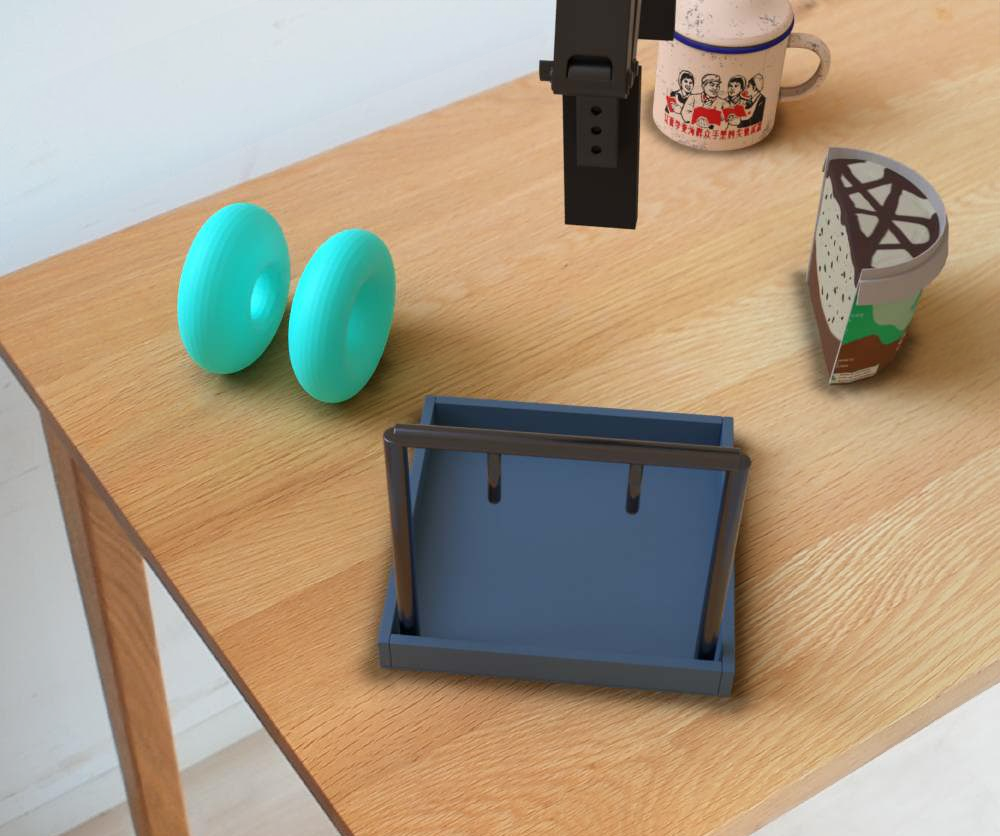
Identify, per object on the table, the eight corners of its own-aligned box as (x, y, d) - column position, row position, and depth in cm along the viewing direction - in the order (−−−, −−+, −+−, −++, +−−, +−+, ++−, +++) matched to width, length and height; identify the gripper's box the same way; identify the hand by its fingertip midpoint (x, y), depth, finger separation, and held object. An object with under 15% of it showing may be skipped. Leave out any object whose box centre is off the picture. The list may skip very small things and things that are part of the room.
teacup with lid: (645, 156, 101) (659, 2, 92) (651, 83, 107) (665, -67, 98) (819, 168, 100) (849, 14, 91) (815, 94, 106) (844, -57, 97)
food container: (936, 409, 84) (979, 275, 77) (831, 410, 84) (864, 276, 77) (896, 273, 92) (932, 140, 85) (800, 273, 92) (827, 140, 85)
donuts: (260, 296, 91) (238, 163, 83) (407, 333, 89) (398, 199, 81) (184, 401, 85) (154, 268, 77) (340, 443, 82) (324, 310, 75)
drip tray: (727, 451, 82) (733, 416, 80) (728, 705, 71) (735, 672, 69) (427, 429, 83) (425, 394, 81) (380, 675, 72) (376, 642, 70)
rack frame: (710, 673, 72) (753, 443, 60) (709, 690, 71) (753, 461, 59) (403, 647, 73) (383, 416, 61) (400, 663, 72) (380, 433, 60)
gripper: (574, -582, 53) (578, -32, 68) (425, -341, 36) (476, 309, 52) (782, -585, 51) (738, -25, 67) (725, -337, 35) (684, 326, 51)
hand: (623, 122), depth 60 cm, fingers open, 13 cm apart
